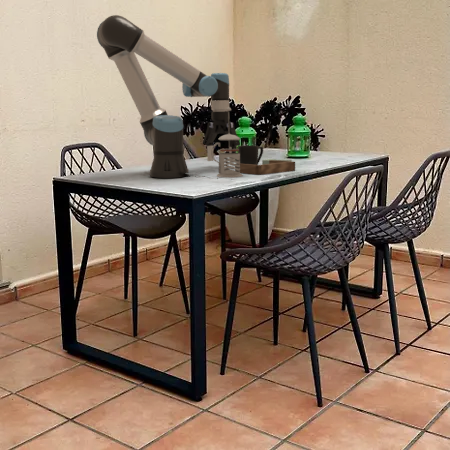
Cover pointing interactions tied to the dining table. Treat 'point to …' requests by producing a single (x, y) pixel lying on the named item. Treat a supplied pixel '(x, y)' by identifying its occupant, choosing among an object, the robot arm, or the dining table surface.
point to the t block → (271, 159)
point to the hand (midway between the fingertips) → (221, 161)
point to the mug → (250, 154)
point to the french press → (224, 170)
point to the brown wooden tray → (268, 167)
